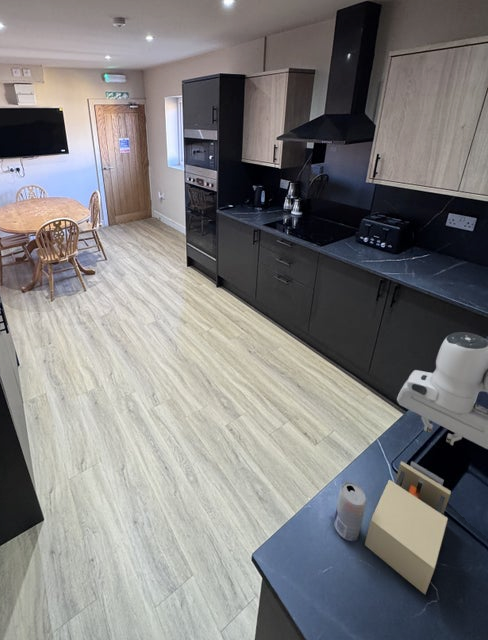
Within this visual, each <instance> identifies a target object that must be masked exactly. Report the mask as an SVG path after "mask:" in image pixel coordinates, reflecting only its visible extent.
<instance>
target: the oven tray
mask: <svg viewBox="0 0 488 640" xmlns="http://www.w3.org/2000/svg"><path fill="white" fill-rule="evenodd" d="M420 478H421V479H423V480H424V481H423V484H422V488H421V491H420V495H419V498H418V499H419V500H421V501H422V502H424V503H426V504H427V505H429V506H430V507H432V508H433V509H435V510H436V511H438V512H439V513H441V514H442V515H444V514H445V511H446V508H447V506H448V502H449V500H450V497H451V494H452V491H451V490H450V489H449V488H447V487H445V486H444V485H443V484H444V481H445V479H444V478H441V477H439V476H438V475H437V474H435V473H433V472H431V471H429V470H428V469H427V468H424V467H423V466H421V465H419V464H418V463H416V462H415V461H413V460H412V461H411V462H410V465H409V464H407V463H406V462H404V461H402V460H401V461H400V463H399V467H398V470H397V474H396V478H395V481H394V483H395V484H397V485H398V486H400V487H401V488H403V489H404V490H406V491H407V492H409V489H410V487H411V485H412V486H414V487H416V488H417V485H418V481H419V479H420Z"/></svg>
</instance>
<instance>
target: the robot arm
mask: <svg viewBox="0 0 488 640" xmlns="http://www.w3.org/2000/svg"><path fill="white" fill-rule="evenodd" d="M481 392H484V393H487V394H488V340H487V339H486V338H484V337H483V336H481V335H478V334H475V333H472V332H465V331H459V332H458V331H457V332H453V333H450V334H448V335H447V336H446V337H445V338H444V340H443V341H442V343H441V345H440V347H439V350H438V353H437V356H436V359H435V369H434V371H433V372H429V371H423V370H418V369H414V370H413V371H412V372H411V373H410V374H409V376H408V378H407V380H406V381H405V382H404V383H403V385H402V387H401V388H400V391H399V393H398V395H397V397H396V401H397V404H398V405H399V406H400V407H403V408H405V409H407V410H409V411H411V412H413V413H415V414H417V415H419V416H421V417H420V419H421V421H422V423H423V425H424V427H423V431H425V432H426V433H428V434H432V431H433V427H434V424H436V425H438V426H441V427H443V428H445V429H446V430H449V431H451V432H452V433H453V434H451V433H449V432H448V433H447V435H446V439H445V443H447V444H449V445H450V446H454V443H455V442H458V441H461V440H462V439H463V438H464V439H466V440H468V441H470V442H472V443H473V444H476V445H478V446H480V447H482V448H484V449H486V450H488V409H487V408H485V407H484V406H482V405H479V404H477V403H476V401H477V399H478V396H479V393H481ZM430 422H432V423H434V424H432V423H430Z"/></svg>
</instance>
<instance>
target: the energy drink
mask: <svg viewBox="0 0 488 640" xmlns="http://www.w3.org/2000/svg"><path fill="white" fill-rule="evenodd" d="M366 506H367V498H366V494H365V492H364V490H363V489H362V488H361V486H359V485H358V484H356V483H354V482H350V481H347V482H344V483H343V484H342V485H341V487H340V488H339V493H338V499H337V504H336V508H335V513H334V514H335V515H334V519H333V524H334V528H335V531H336V532H337V533H338V534H339V536H340V537H342V538H343V539H344V540H345V541H346V540H347V541H350V542H354V541H356V540H358V539H359V535H360V531H361V526H362V523H363V520H364V519H363V518H364V513H365V510H366Z"/></svg>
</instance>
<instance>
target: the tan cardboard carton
mask: <svg viewBox="0 0 488 640" xmlns="http://www.w3.org/2000/svg"><path fill="white" fill-rule="evenodd" d="M448 520H449V519H448V517H447V516H445V515H444V514H442V513H439V512H438V511H436V509H435V508H433V507H432V506H430V505H429V504H427V503H426V502H424V501H423V500H421V499H420V498H416V497H415V496H413V495H412V494H410V493H409V491H408V490H406V489H404V488H403V487H400V486H398V485H397V484H396V483H395V481H392V480H391V479H388V481H387V483H386V486H385V488H384V490H383V492H382V494H381V496H380V499H379V501H378V503H377V505H376V507H375V509H374V512H373V514H372V516H371V518H370V522H369V526H368V529H367V534H366V536H365V537H366V538H365V542H364V546H365V547H366V548H367V549H369V550H370V551H371V552H373V553H374V554H375V555H376V556H377V557H379V558H380V559H381V560H382V561H383V562H385V564H387V565H388V566H390V567H391V568H392V569H393V570H394V571H395V572H397V573H398V574H399V575H400V576H402V578H404V579H405V580H407V581H408V582H409V583H410V584H411V585H412V586H414V587H415V588H416V589H417V590H419V591H420V592H421V593H422V594H424V595H426V594H427V592H428V588H429V585H430V583H431V580H432V577H433V575H434V572H435V569H436V565H437V563H438V558H439V555H440V552H441V551H440V550H441V547H442V544H443V543H442V542H443V539H444V536H445V532H446V528H447V524H448Z"/></svg>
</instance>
